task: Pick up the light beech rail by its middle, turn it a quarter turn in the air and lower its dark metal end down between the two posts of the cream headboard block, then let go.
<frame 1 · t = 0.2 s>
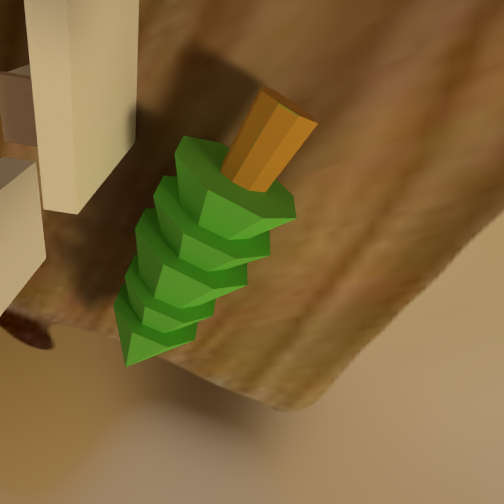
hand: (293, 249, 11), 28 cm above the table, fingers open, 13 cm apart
headboard: (111, 23, 33), on the table
decorative tree: (195, 221, 43), on the table
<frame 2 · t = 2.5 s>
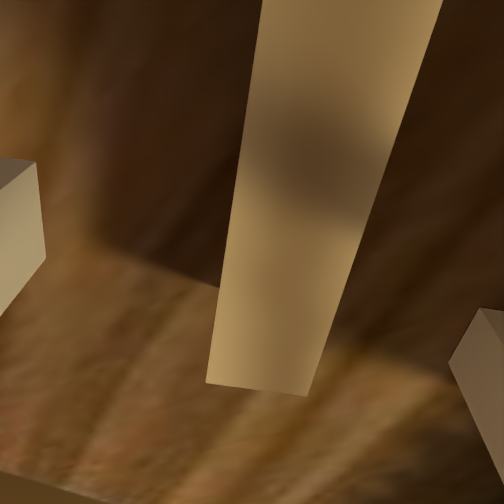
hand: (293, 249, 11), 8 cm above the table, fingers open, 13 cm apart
rail: (292, 141, 18), on the table
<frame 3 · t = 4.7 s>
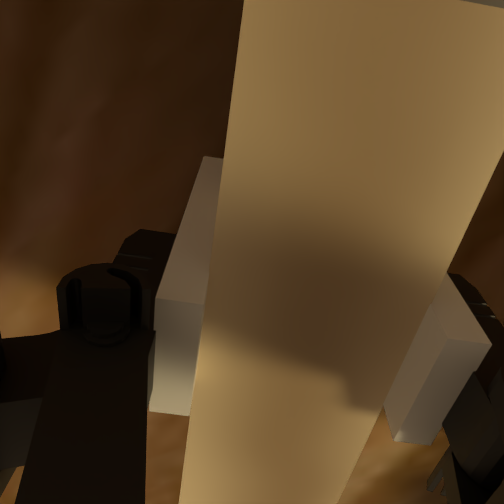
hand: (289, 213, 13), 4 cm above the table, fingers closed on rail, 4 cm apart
rail: (287, 211, 14), point 3 cm above the table, touching gripper
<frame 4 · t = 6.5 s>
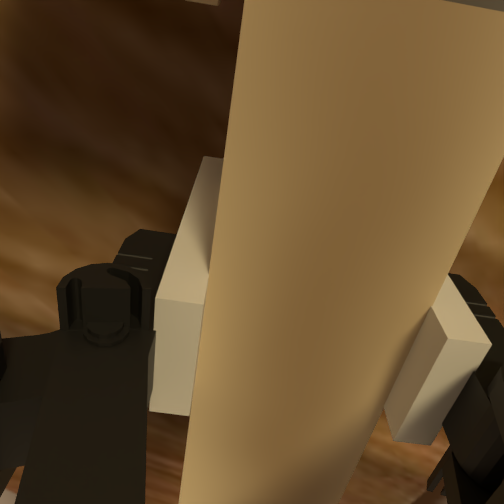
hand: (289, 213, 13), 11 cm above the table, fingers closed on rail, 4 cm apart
rail: (287, 213, 14), point 11 cm above the table, touching gripper
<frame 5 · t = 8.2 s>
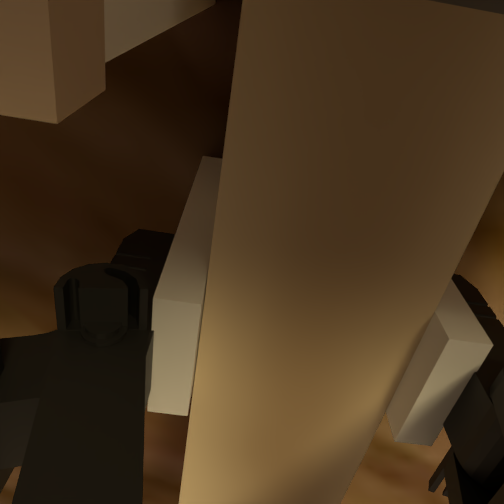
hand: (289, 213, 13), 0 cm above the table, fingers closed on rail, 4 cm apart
rail: (288, 214, 13), on the table, touching gripper
when the fingers open (0 cm above the table, at t = 8.3 s): rail stays where it is, on the table.
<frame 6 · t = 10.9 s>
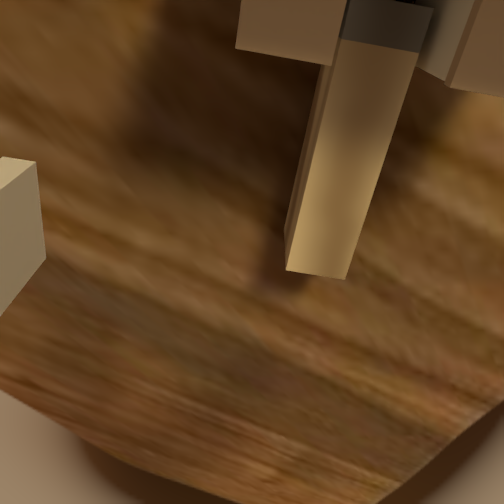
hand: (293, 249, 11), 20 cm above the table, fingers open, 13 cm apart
rail: (335, 131, 30), on the table
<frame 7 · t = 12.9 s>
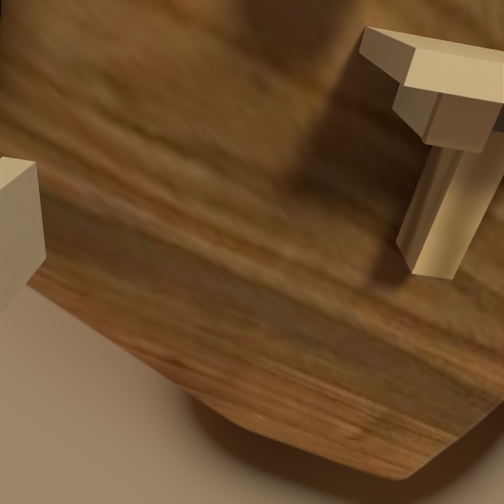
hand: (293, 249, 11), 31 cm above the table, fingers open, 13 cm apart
rail: (442, 174, 42), on the table
headboard: (482, 74, 38), on the table
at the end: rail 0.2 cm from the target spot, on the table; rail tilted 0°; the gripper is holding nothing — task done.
